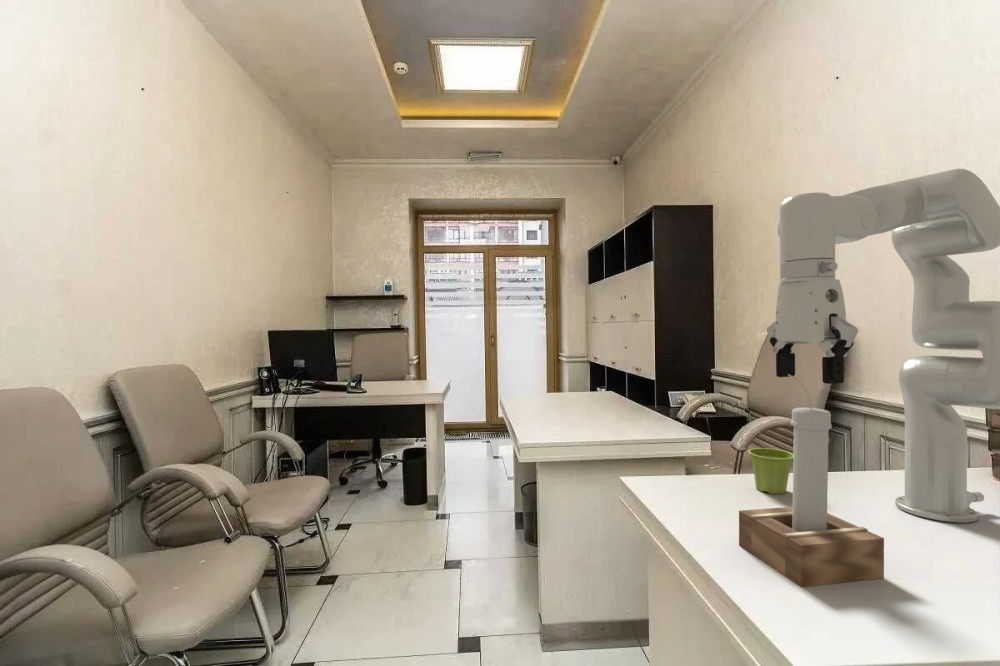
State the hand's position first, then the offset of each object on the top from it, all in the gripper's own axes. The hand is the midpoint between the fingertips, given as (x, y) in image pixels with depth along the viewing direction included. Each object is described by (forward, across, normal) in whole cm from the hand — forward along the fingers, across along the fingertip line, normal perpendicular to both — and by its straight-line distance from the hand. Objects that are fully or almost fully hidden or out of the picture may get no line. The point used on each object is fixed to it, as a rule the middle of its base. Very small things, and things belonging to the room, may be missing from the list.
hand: (808, 379), depth 80 cm
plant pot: (+30, +32, -18) cm, 47 cm away
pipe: (+29, 0, +1) cm, 29 cm away
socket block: (+29, 0, +1) cm, 29 cm away
